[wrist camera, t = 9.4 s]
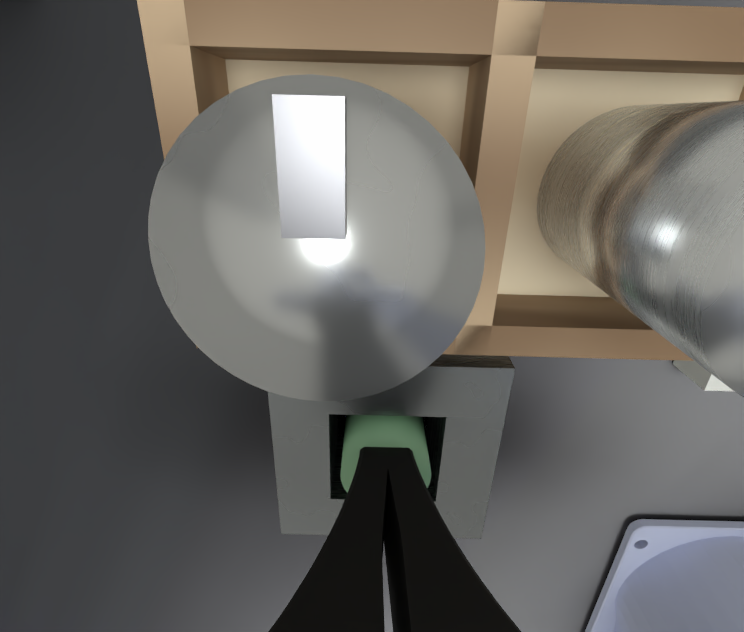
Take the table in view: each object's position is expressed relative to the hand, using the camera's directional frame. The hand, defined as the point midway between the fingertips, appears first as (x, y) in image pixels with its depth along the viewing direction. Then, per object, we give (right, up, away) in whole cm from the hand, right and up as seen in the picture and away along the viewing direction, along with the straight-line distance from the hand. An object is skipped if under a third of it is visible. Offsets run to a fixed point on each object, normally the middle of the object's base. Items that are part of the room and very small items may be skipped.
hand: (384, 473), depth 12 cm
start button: (0, +1, +3) cm, 3 cm away
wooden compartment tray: (+2, +8, 0) cm, 8 cm away
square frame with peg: (0, +1, +3) cm, 3 cm away
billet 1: (-1, +8, -1) cm, 8 cm away
